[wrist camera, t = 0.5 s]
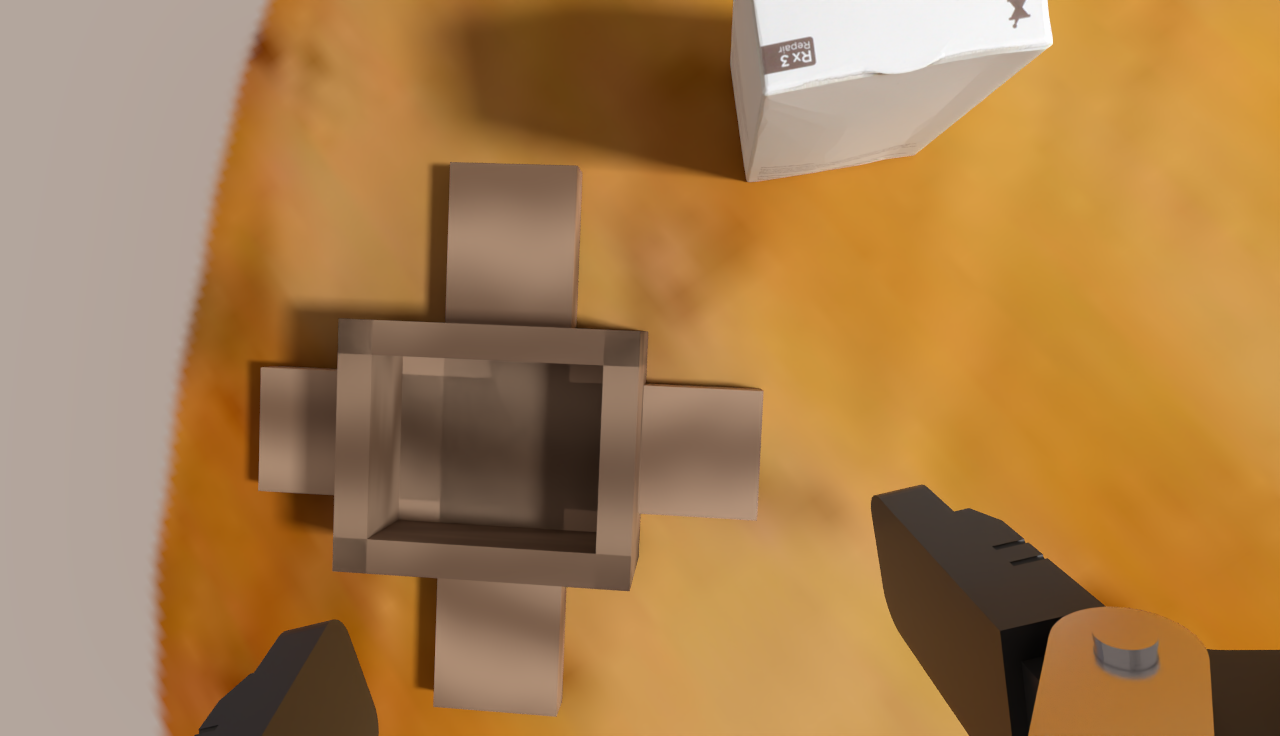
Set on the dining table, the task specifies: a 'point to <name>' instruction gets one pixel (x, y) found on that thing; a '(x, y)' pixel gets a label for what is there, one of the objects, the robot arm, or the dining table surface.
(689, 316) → the dining table surface
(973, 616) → the robot arm
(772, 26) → the skincare box
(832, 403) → the dining table surface
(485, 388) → the cross stand
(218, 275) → the dining table surface
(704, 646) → the dining table surface
